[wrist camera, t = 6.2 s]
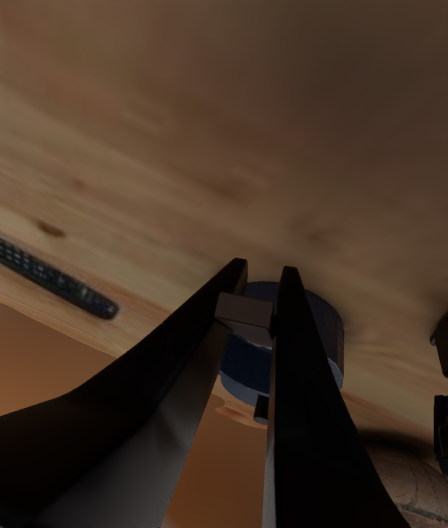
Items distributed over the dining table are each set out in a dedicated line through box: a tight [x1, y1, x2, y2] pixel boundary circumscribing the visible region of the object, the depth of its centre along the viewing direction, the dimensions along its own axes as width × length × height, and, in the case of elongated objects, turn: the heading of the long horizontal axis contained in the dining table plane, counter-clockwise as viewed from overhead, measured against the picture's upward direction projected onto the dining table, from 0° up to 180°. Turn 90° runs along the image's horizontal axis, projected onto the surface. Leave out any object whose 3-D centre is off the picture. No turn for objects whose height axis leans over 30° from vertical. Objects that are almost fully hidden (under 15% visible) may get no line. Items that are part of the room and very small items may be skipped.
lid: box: [221, 376, 269, 425], centre depth 42 cm, size 15×15×5 cm
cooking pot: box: [364, 441, 448, 528], centre depth 44 cm, size 25×19×12 cm
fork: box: [214, 292, 275, 350], centre depth 14 cm, size 15×2×8 cm, turn 3°
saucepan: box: [218, 282, 344, 397], centre depth 30 cm, size 14×19×6 cm
